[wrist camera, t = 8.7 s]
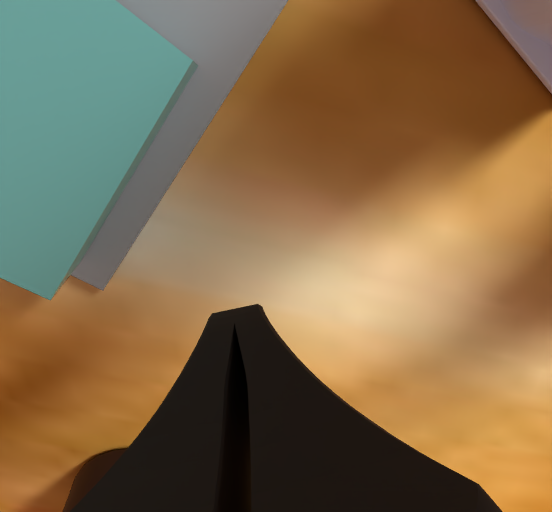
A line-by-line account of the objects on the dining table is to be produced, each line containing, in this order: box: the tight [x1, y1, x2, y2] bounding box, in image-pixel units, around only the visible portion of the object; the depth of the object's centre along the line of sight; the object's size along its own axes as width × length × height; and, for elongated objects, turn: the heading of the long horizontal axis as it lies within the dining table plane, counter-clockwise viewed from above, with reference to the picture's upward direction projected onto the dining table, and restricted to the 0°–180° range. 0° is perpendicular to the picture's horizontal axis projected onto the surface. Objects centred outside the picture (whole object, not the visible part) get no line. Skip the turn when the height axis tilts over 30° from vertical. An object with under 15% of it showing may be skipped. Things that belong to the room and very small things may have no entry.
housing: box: [0, 0, 198, 300], centre depth 13 cm, size 7×10×3 cm
